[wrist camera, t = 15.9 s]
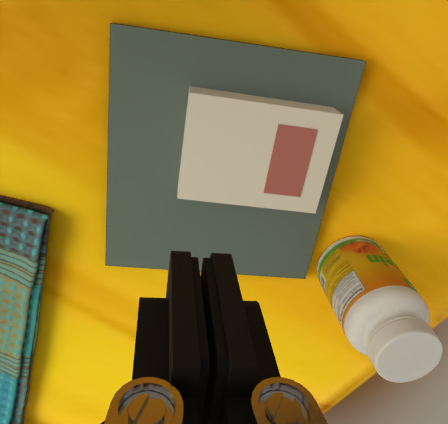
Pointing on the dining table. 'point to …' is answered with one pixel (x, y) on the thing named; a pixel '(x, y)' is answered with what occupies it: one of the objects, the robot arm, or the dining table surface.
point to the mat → (173, 141)
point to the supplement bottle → (379, 309)
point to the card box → (256, 150)
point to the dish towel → (20, 298)
